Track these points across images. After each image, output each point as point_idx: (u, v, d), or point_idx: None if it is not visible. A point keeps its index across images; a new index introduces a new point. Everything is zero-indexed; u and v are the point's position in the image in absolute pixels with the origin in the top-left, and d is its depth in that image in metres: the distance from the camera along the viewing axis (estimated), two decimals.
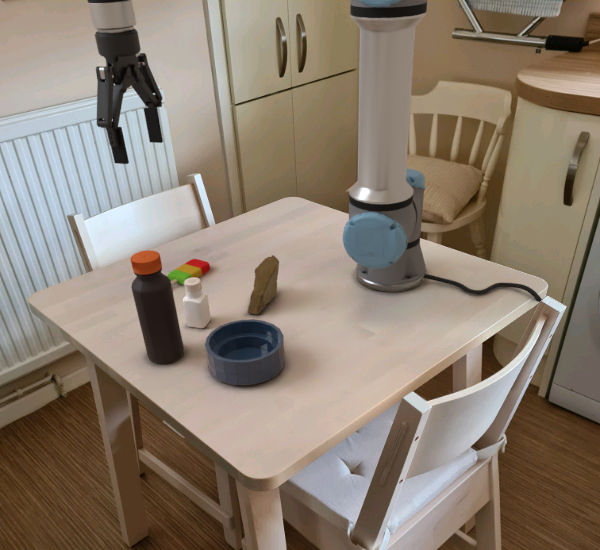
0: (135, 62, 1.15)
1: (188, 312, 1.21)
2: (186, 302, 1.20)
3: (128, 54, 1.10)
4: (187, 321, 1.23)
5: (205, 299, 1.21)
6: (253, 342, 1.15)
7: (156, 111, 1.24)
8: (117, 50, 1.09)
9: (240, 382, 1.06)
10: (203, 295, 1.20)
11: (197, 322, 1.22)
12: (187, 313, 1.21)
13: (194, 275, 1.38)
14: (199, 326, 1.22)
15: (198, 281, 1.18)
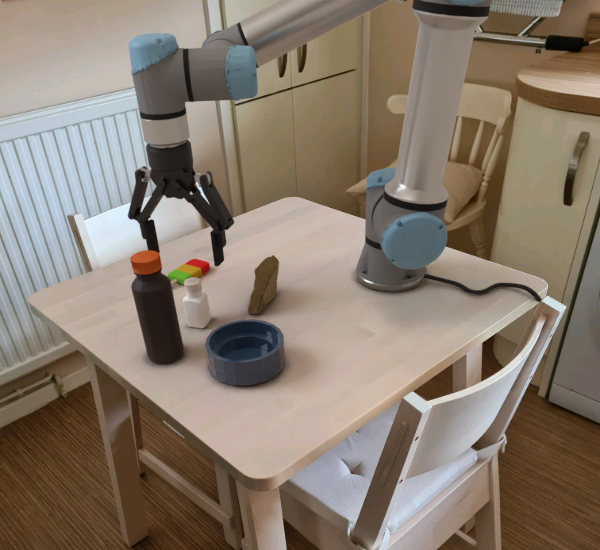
0: (184, 179, 1.05)
1: (188, 312, 1.21)
2: (186, 302, 1.20)
3: (152, 168, 1.04)
4: (187, 321, 1.23)
5: (205, 299, 1.21)
6: (253, 342, 1.15)
7: (212, 235, 1.10)
8: None
9: (240, 382, 1.06)
10: (203, 295, 1.20)
11: (197, 322, 1.22)
12: (187, 313, 1.21)
13: (194, 275, 1.38)
14: (199, 326, 1.22)
15: (198, 281, 1.18)
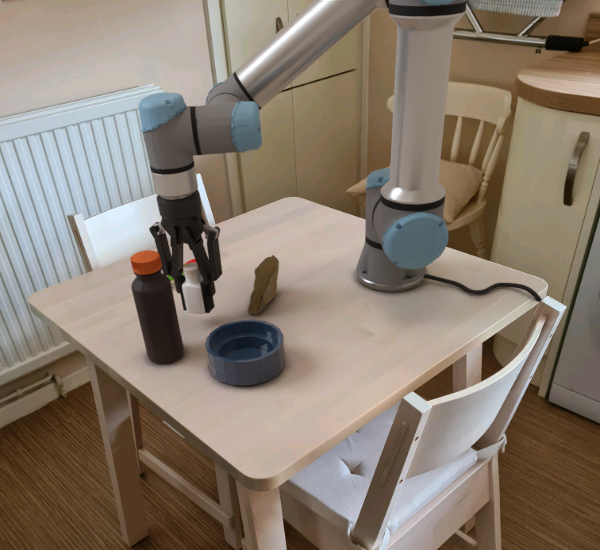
0: (194, 227, 1.10)
1: (188, 298, 1.19)
2: (186, 288, 1.18)
3: (163, 217, 1.08)
4: (187, 307, 1.21)
5: None
6: (253, 342, 1.15)
7: (201, 285, 1.17)
8: (159, 210, 1.09)
9: (240, 382, 1.06)
10: None
11: (197, 308, 1.20)
12: (187, 299, 1.19)
13: None
14: (199, 312, 1.21)
15: (197, 266, 1.16)
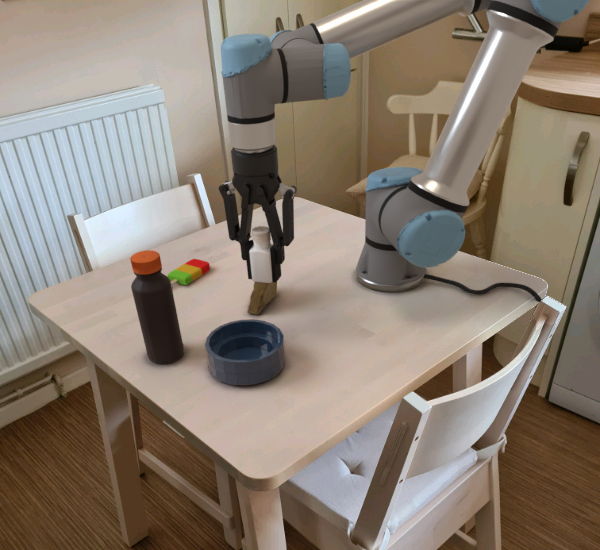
0: (269, 185, 1.01)
1: (255, 265, 1.11)
2: (254, 254, 1.09)
3: (237, 174, 1.00)
4: (253, 275, 1.12)
5: None
6: (253, 342, 1.15)
7: (271, 251, 1.09)
8: (232, 165, 1.01)
9: (240, 382, 1.06)
10: None
11: (264, 276, 1.12)
12: (253, 266, 1.11)
13: (194, 275, 1.38)
14: (266, 281, 1.12)
15: (267, 230, 1.08)
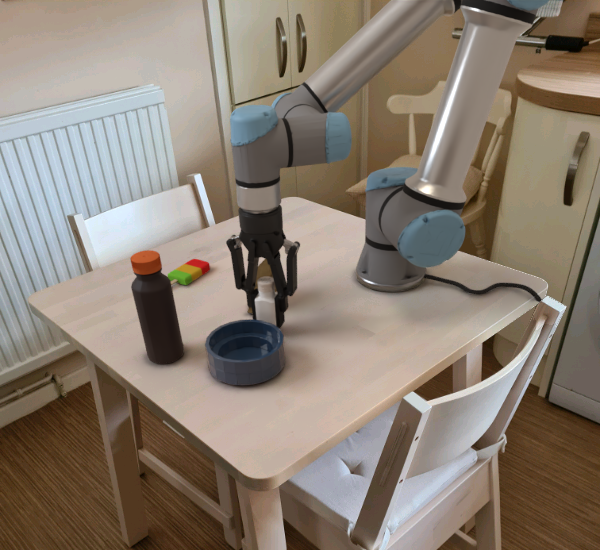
0: (274, 241, 1.07)
1: (260, 312, 1.17)
2: (259, 302, 1.15)
3: (244, 231, 1.06)
4: None
5: None
6: (253, 342, 1.15)
7: (276, 300, 1.15)
8: None
9: (240, 382, 1.06)
10: None
11: None
12: (259, 313, 1.17)
13: (194, 275, 1.38)
14: None
15: (272, 280, 1.14)
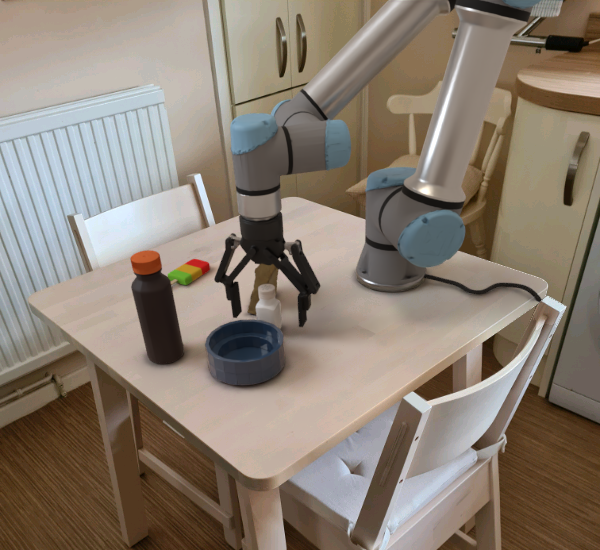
0: (275, 248, 1.08)
1: (261, 319, 1.18)
2: (260, 309, 1.16)
3: (245, 238, 1.07)
4: None
5: (278, 306, 1.18)
6: (253, 342, 1.15)
7: (299, 299, 1.13)
8: (240, 230, 1.08)
9: (240, 382, 1.06)
10: (276, 302, 1.17)
11: None
12: None
13: (194, 275, 1.38)
14: None
15: (273, 288, 1.15)
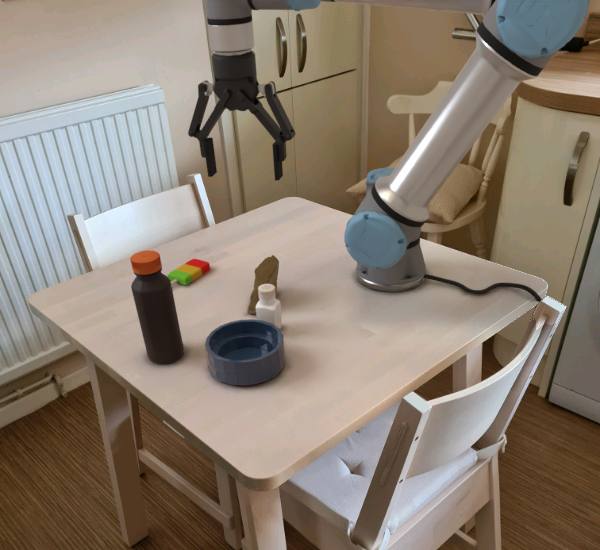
0: (249, 89, 1.08)
1: (261, 319, 1.18)
2: (260, 309, 1.16)
3: (218, 78, 1.06)
4: None
5: (278, 306, 1.18)
6: (253, 342, 1.15)
7: (274, 147, 1.12)
8: (213, 71, 1.07)
9: (240, 382, 1.06)
10: (276, 302, 1.17)
11: None
12: None
13: (194, 275, 1.38)
14: None
15: (273, 288, 1.15)
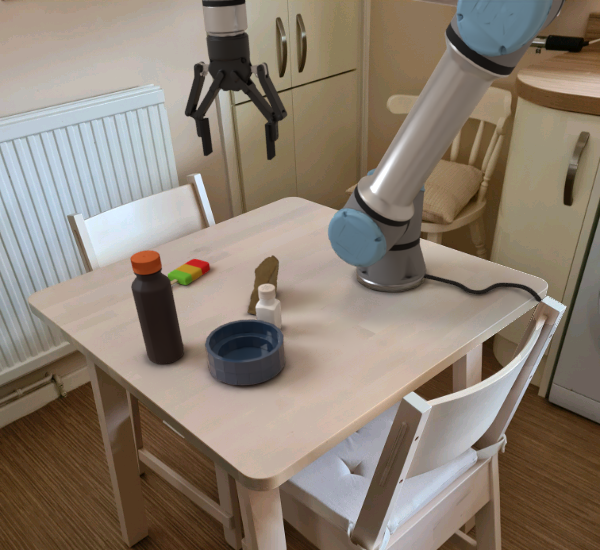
0: (242, 70, 1.11)
1: (261, 319, 1.18)
2: (260, 309, 1.16)
3: (212, 58, 1.10)
4: None
5: (278, 306, 1.18)
6: (253, 342, 1.15)
7: (266, 127, 1.16)
8: (208, 52, 1.11)
9: (240, 382, 1.06)
10: (276, 302, 1.17)
11: None
12: None
13: (194, 275, 1.38)
14: None
15: (273, 288, 1.15)
